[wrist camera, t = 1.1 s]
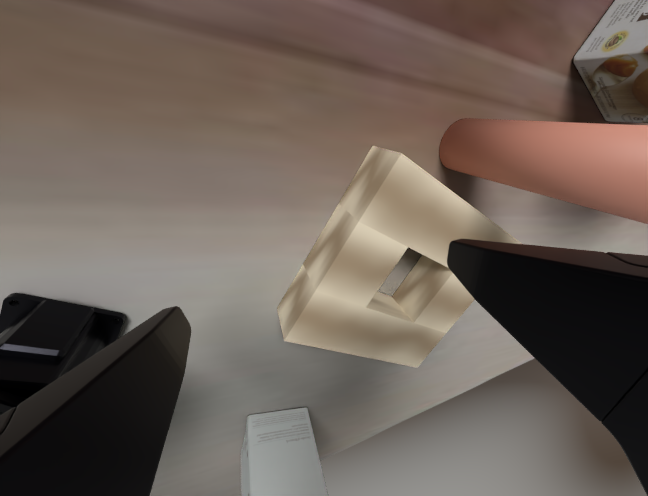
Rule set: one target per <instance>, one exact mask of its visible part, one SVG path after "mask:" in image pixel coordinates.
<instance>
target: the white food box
mask: <svg viewBox="0 0 648 496" xmlns="http://www.w3.org/2000/svg"><path fill="white" fill-rule="evenodd" d="M574 64H575V66H576V68H577V69H578V71H579V73H580V75H581V77H582V79H583V81H584V82H585V84H586V86H587V88H588V90H589V91H590V93H591V95H592V97H593V99H594V101H595V102H596V104H597V106H598V108H599V110H600V112H601V113H602V115H603V117H604V119H605V120H606V121H610V122H634V123H648V0H615V1H614V2H613V4H612V5H611V6H610V8H609V9H608V10H607V12H606V13H605V15H604V16H603V17H602V19H601V20H600V22H599V23H598V24H597V26H596V27H595V29H594V30H593V31H592V33H591V34H590V36H589V37H588V38H587V40H586V41H585V42H584V44H583V45H582V47H581V48H580V49H579V51H578V52H577V53H576V55H575V56H574Z"/></svg>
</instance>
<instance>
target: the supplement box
mask: <svg viewBox="0 0 648 496" xmlns="http://www.w3.org/2000/svg"><path fill="white" fill-rule="evenodd" d="M241 496H328V492H327V489H326V484H325V480H324V475H323V471H322V467H321V463H320V459H319V455H318V450H317V446H316V442H315V438H314V434H313V429H312V425H311V421H310V417H309V413H308V408H297V409H290V410H282V411H274V412H267V413H261V414H254V415H249V416H248V417H247V424H246V431H245V436H244V441H243V446H242V450H241Z"/></svg>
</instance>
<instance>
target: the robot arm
mask: <svg viewBox="0 0 648 496" xmlns="http://www.w3.org/2000/svg"><path fill="white" fill-rule="evenodd" d="M447 265H448V267H449V269H450V270H451V271H452V273H453V274H454V275H455V276H456V277H457V279H458V280H459V281H460V282H461V284H462V285H463V286H464V287H465V288H466V290H467V291H468V292H469V293H470V294H471V295H472V297H473V298H474V299H475V300H476V301H477V302H478V303H479V304H480V305H481V306H482V307H483V308H484V309H485V310H486V311H487V312H488V313H489V314H490V315H491V316H492V317H493V318H495V319H496V320H497V321H498V322H499V323H500V324H501V325H502V326H503V327H504V328H505V329H506V330H507V331H508V332H509V333H510V334H511V335H512V336H513V337H514V338H515V339H516V340H517V341H518V342H519V343H520V344H521V345H522V346H523V347H524V348H525V349H526V350H527V351H528V352H529V353H530V354H531V355H532V356H533V357H534V358H535V359H536V360H538V361H539V362H540V363H541V364H542V365H543V366H544V367H545V368H546V369H547V370H548V371H549V372H550V373H551V374H552V375H553V376H554V377H555V378H556V379H557V380H558V381H559V382H560V383H561V384H562V385H563V386H564V387H565V388H566V389H567V390H568V391H569V392H570V393H571V394H572V395H573V396H574V397H575V398H576V399H577V400H578V401H579V402H580V403H582V404H583V405H584V406H585V407H586V408H587V409H588V410H589V411H590V412H591V413H592V414H593V415H594V416H595V417H596V418H597V419H598V420H599V421H602V424H603V425H604V426H605V427H606V428H607V429H608V430H609V431H610V433H612V435H613V436H614V437H615V439H616V440H617V441H618V443H619V444H620V445H621V447H622V449H623V450H624V452H625V454H626V456H627V458H628V460H629V462H630V463H631V465H632V467H633V469H634V471H635V473H636V475H637V477H638V479H639V480H640V482H641V484H642V486H643V488H644V490H645V492H646V494H647V496H648V256H644V255H633V254H622V253H612V252H607V253H604V252H596V251H586V250H576V249H566V248H555V247H545V246H535V245H524V244H514V243H504V242H493V241H483V240H473V239H457V240H453V241H451V242H450V244H449V249H448V256H447ZM14 300H16V301H18V302H15V301H14ZM115 319H118V320H115ZM124 321H125V315H123V314H122V313H118V312H113V311H108V310H103V309H98V308H93V307H88V306H82V305H77V304H72V303H67V302H62V301H57V300H52V299H46V298H41V297H36V296H31V295H26V294H21V293H13V294H10V295H9V296H8V297H6V298H5V299H4V301H3V305H2V309H1V314H0V496H150V492H151V489H152V485H153V482H154V478H155V475H156V471H157V468H158V464H159V461H160V457H161V454H162V450H163V447H164V444H165V440H166V437H167V433H168V430H169V426H170V423H171V419H172V416H173V412H174V409H175V405H176V402H177V398H178V395H179V391H180V388H181V384H182V381H183V377H184V373H185V368H186V362H187V355H188V349H189V343H190V337H191V327H190V324H189V322H188V320H187V319H186V317H185V315H184V313H183V312H182V310H181V309H180V308H179V307H177V306H175V307H170V308H166V309H163V310H162V311H160V312H159V313H157V314H156V315H154V316H152V317H151V318H149V319H148V320H146V321H145V322H143V323H142V324H140V325H139V326H137V327H136V328H134V329H133V330H131V331H130V332H128V333H127V334H125V335H124V336H122V337H121V338H119V339H118V337H119V334H120V331H121V329H122V326H123V324H124ZM117 339H118V340H117Z"/></svg>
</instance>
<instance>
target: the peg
mask: <svg viewBox="0 0 648 496" xmlns="http://www.w3.org/2000/svg"><path fill="white" fill-rule="evenodd" d="M439 155H440V160H441V162H442V164H443V165H444V166H445V167H446V168H448V169H451V170H455V171H458V172H462V173H465V174H469V175H473V176H476V177H480V178H484V179H487V180H491V181H494V182H498V183H502V184H505V185H509V186H512V187H516V188H520V189H523V190H527V191H530V192H534V193H538V194H541V195H545V196H548V197H552V198H556V199H559V200H563V201H566V202H570V203H574V204H577V205H581V206H584V207H588V208H592V209H595V210H599V211H602V212H606V213H610V214H613V215H617V216H620V217H624V218H628V219H631V220H635V221H638V222H642V223H646V224H648V125H623V124H598V123H572V122H546V121H521V120H495V119H470V118H465V119H460V120H458V121H456V122H455V123H453V124H452V125H451V126H450V127H449V128H448V129H447V131H446V132H445V134H444V136H443V138H442V140H441V144H440V149H439Z"/></svg>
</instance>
